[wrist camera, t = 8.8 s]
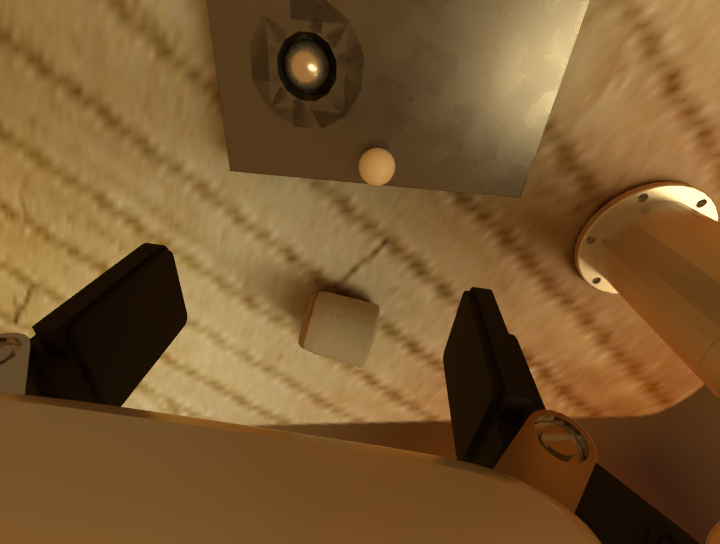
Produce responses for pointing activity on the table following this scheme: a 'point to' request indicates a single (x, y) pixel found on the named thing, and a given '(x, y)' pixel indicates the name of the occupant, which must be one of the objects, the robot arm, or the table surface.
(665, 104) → the table surface
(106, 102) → the table surface
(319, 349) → the ceramic mug
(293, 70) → the steel ball
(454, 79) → the grey metal slab
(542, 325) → the table surface
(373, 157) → the cream ball
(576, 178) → the table surface
